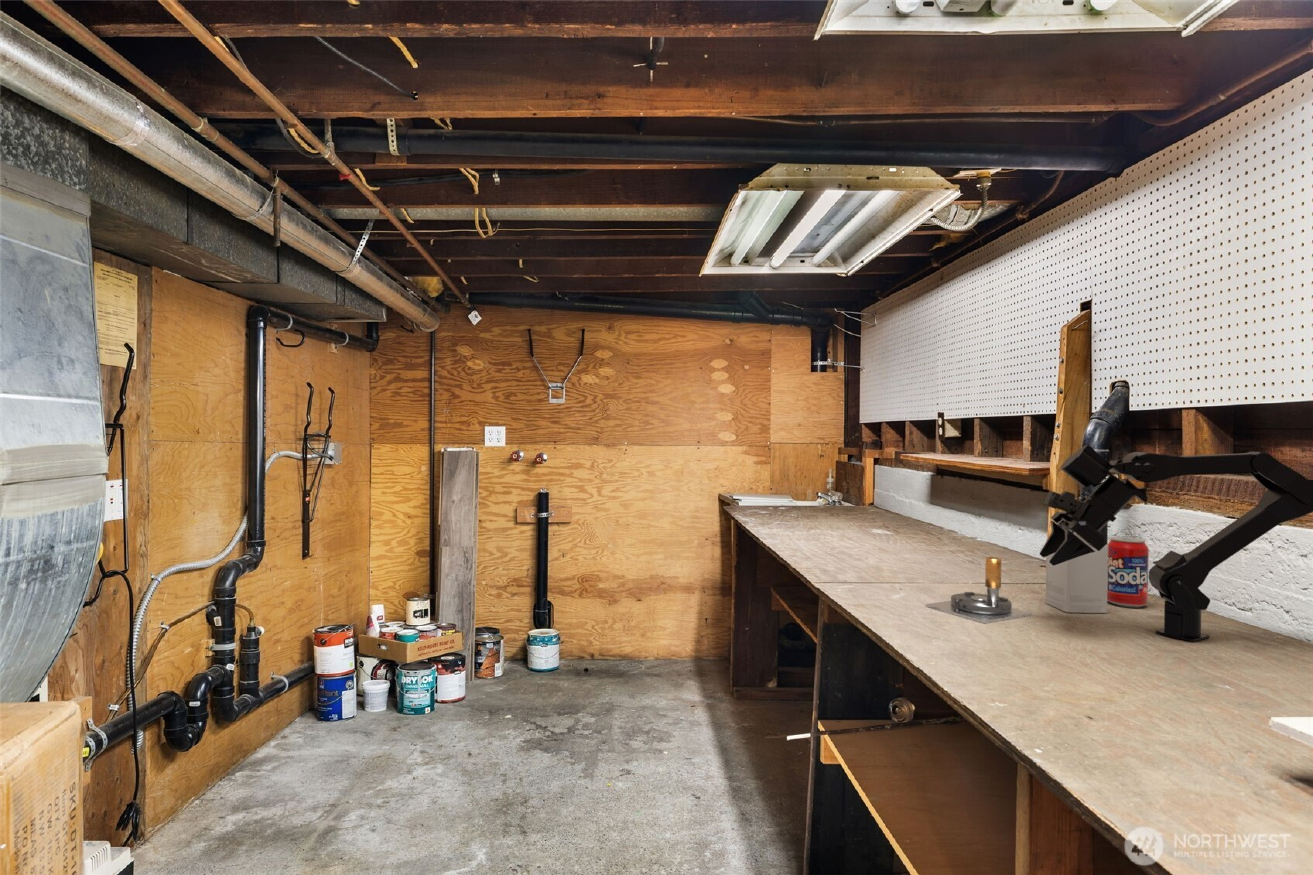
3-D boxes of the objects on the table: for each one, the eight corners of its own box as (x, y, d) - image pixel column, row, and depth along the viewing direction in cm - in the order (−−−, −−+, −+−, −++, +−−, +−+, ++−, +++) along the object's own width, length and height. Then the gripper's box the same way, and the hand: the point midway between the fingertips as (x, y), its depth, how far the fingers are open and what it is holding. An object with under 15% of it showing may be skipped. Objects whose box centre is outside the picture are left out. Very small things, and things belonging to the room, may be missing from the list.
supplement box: (1108, 614, 150) (1110, 544, 150) (1066, 613, 151) (1068, 544, 150) (1083, 603, 160) (1084, 538, 159) (1044, 602, 160) (1045, 537, 159)
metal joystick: (993, 600, 159) (994, 549, 158) (1024, 615, 146) (1025, 559, 146) (941, 600, 158) (942, 549, 158) (968, 614, 146) (969, 559, 145)
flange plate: (971, 599, 162) (971, 586, 162) (1031, 615, 149) (1032, 600, 149) (925, 606, 155) (925, 592, 155) (984, 623, 142) (984, 608, 142)
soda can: (1141, 602, 161) (1143, 537, 161) (1152, 610, 154) (1153, 542, 154) (1102, 599, 164) (1103, 535, 164) (1110, 606, 157) (1111, 540, 156)
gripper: (1058, 473, 149) (1005, 526, 153) (1081, 479, 132) (1021, 539, 135) (1103, 508, 147) (1048, 562, 150) (1133, 519, 129) (1070, 579, 132)
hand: (1046, 559), depth 142 cm, fingers open, 9 cm apart
